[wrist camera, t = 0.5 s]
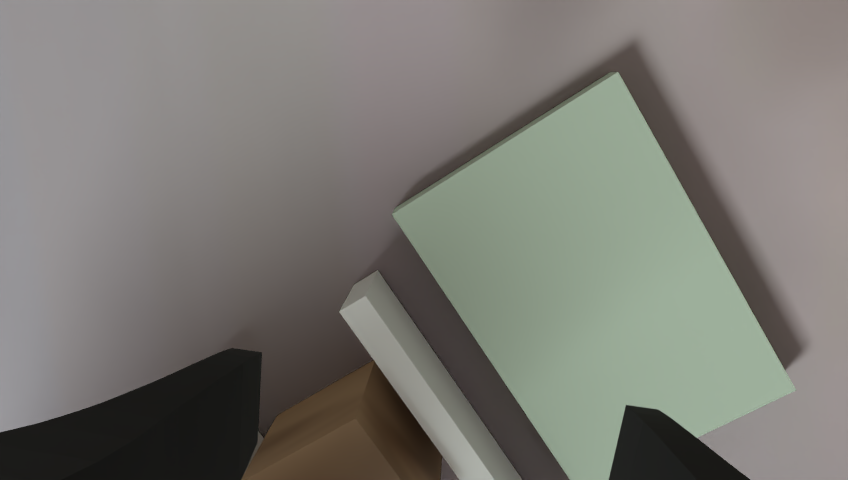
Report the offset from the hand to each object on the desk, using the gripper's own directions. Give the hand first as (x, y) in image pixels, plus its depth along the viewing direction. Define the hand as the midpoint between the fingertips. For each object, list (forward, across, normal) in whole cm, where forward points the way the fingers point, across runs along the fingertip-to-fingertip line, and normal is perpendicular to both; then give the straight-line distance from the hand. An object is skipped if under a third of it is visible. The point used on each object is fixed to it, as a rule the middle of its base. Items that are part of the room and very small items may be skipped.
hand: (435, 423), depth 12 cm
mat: (+9, -5, 0) cm, 10 cm away
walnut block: (+9, +3, +7) cm, 12 cm away
